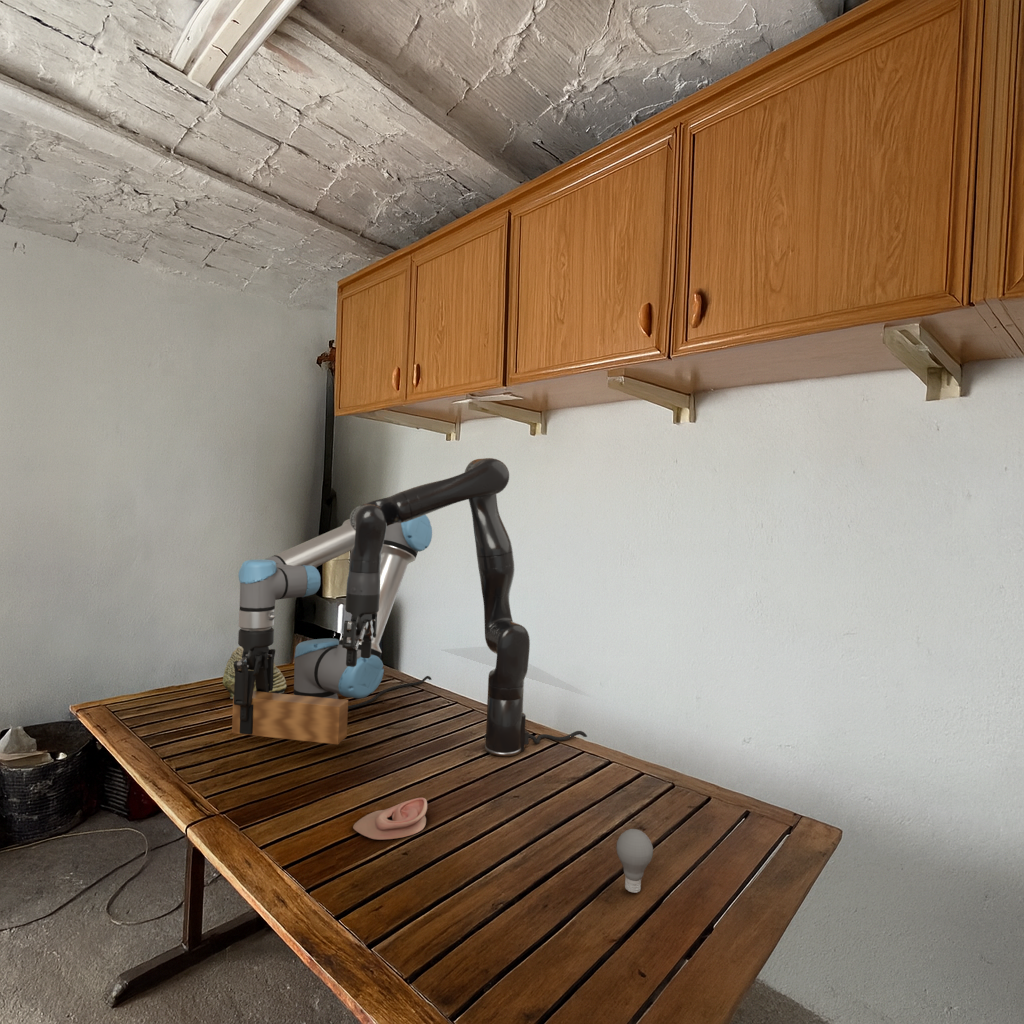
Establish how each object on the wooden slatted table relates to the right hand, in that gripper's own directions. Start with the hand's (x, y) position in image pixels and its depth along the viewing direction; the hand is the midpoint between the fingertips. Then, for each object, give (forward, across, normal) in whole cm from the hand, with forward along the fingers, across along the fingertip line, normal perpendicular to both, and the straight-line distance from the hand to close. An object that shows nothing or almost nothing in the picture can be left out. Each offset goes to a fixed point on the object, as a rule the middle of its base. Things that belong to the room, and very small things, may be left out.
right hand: (358, 661), depth 145 cm
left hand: (+17, -3, +23) cm, 29 cm away
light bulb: (+25, -30, -62) cm, 74 cm away
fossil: (+26, +46, +51) cm, 74 cm away
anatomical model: (+26, -20, -16) cm, 36 cm away
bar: (+17, -3, +14) cm, 22 cm away
